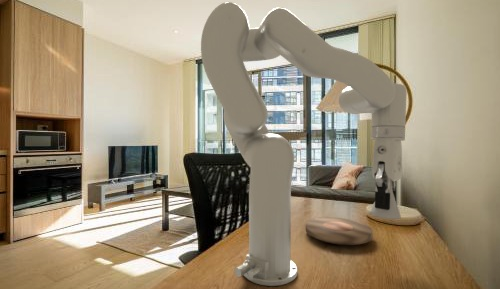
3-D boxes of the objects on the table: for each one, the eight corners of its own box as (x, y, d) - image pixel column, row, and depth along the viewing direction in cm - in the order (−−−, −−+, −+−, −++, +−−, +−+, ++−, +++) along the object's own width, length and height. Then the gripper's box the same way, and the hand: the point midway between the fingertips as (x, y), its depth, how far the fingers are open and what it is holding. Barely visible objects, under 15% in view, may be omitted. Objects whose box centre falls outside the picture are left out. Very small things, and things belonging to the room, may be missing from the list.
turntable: (359, 251, 66) (359, 243, 66) (293, 232, 79) (293, 226, 79) (380, 231, 81) (380, 225, 81) (321, 218, 94) (321, 213, 94)
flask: (406, 221, 59) (408, 179, 59) (373, 218, 61) (374, 177, 61) (395, 213, 66) (396, 175, 66) (365, 211, 68) (367, 174, 68)
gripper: (397, 132, 54) (394, 216, 54) (411, 136, 67) (408, 204, 67) (360, 132, 59) (358, 209, 59) (380, 136, 72) (378, 199, 72)
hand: (385, 206), depth 63 cm, fingers closed on flask, 5 cm apart
